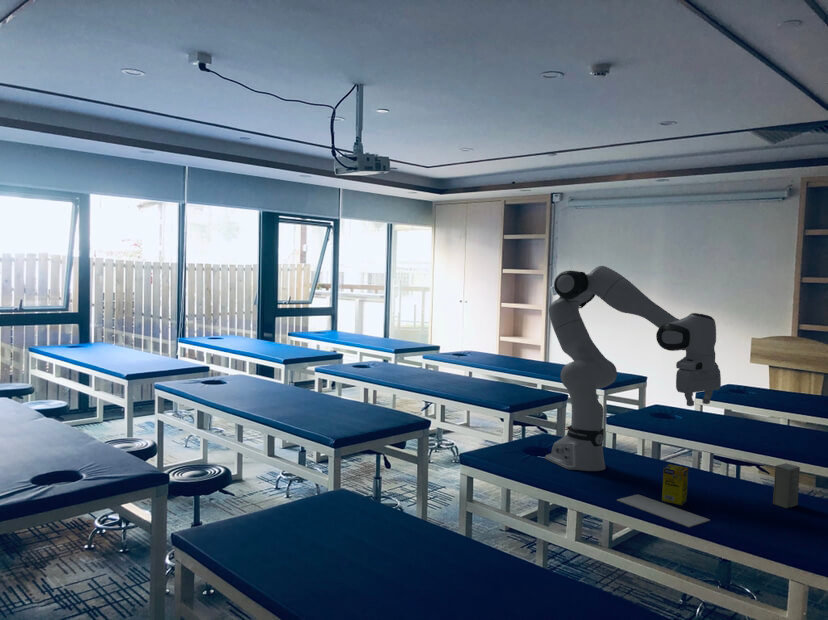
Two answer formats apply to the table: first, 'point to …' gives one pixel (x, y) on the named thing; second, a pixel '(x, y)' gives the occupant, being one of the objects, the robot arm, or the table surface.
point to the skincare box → (786, 485)
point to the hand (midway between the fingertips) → (698, 404)
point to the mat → (664, 510)
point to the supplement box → (675, 485)
